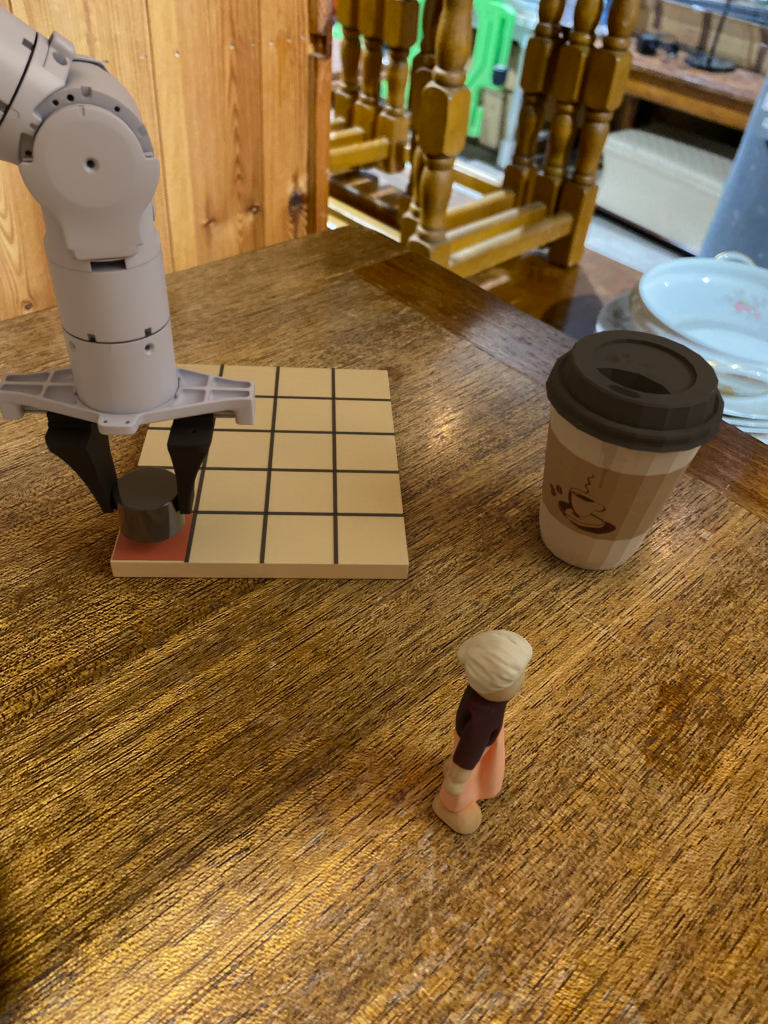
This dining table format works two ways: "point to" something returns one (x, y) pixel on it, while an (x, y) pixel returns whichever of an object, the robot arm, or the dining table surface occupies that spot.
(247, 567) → the board
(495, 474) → the dining table surface
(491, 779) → the grandmother figurine
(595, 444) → the coffee cup
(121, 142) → the robot arm
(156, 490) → the dark grey cylinder
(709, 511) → the dining table surface
